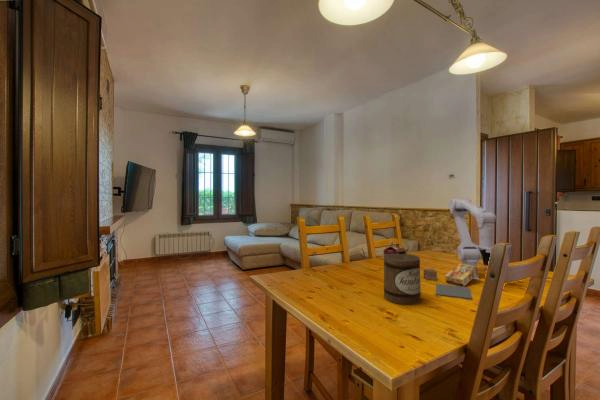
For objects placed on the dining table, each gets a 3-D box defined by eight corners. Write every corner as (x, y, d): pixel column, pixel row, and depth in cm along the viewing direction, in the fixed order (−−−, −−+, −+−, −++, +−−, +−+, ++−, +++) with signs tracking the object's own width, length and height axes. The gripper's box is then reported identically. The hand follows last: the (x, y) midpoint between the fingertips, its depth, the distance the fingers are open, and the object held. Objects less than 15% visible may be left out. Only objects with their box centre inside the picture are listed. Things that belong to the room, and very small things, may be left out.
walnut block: (423, 278, 151) (423, 268, 151) (433, 278, 151) (433, 268, 151) (426, 280, 146) (426, 271, 146) (436, 280, 146) (436, 271, 146)
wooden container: (403, 307, 111) (402, 252, 111) (376, 296, 124) (376, 246, 124) (428, 300, 118) (427, 248, 118) (400, 290, 131) (400, 244, 131)
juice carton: (400, 286, 137) (399, 241, 137) (398, 290, 131) (398, 244, 131) (386, 285, 140) (385, 241, 140) (384, 289, 134) (383, 243, 134)
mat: (436, 284, 139) (436, 283, 139) (468, 288, 133) (468, 287, 133) (435, 295, 125) (435, 293, 125) (472, 299, 118) (472, 298, 118)
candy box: (463, 287, 135) (478, 273, 143) (462, 279, 134) (477, 266, 142) (445, 282, 142) (460, 269, 150) (444, 274, 142) (459, 262, 150)
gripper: (474, 234, 144) (475, 261, 144) (478, 238, 131) (478, 267, 131) (491, 235, 141) (491, 262, 141) (496, 239, 128) (496, 269, 128)
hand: (486, 265), depth 136 cm, fingers closed
